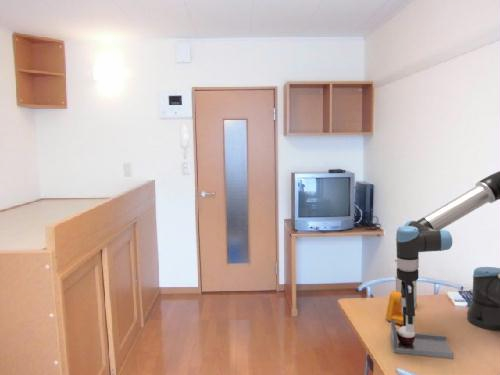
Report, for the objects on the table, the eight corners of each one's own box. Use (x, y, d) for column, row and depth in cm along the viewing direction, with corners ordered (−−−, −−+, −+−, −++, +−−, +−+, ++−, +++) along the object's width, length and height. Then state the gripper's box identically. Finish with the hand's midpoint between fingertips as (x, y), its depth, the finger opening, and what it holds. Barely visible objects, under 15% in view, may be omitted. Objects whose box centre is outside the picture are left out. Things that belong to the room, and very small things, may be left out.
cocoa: (411, 350, 143) (412, 321, 141) (393, 345, 147) (395, 316, 144) (418, 338, 150) (419, 310, 148) (401, 333, 154) (402, 305, 152)
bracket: (402, 327, 162) (403, 299, 160) (386, 321, 167) (386, 294, 165) (413, 318, 169) (414, 291, 168) (397, 313, 174) (398, 287, 173)
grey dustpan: (445, 340, 150) (446, 323, 149) (453, 358, 138) (454, 340, 137) (390, 335, 155) (390, 318, 154) (393, 352, 143) (393, 334, 142)
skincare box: (416, 305, 181) (417, 273, 179) (414, 311, 175) (415, 277, 173) (397, 301, 185) (398, 270, 183) (394, 307, 180) (395, 274, 178)
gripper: (393, 257, 157) (393, 307, 160) (400, 280, 133) (400, 338, 136) (413, 257, 155) (413, 308, 158) (424, 281, 131) (423, 340, 134)
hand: (407, 322), depth 147 cm, fingers open, 13 cm apart
